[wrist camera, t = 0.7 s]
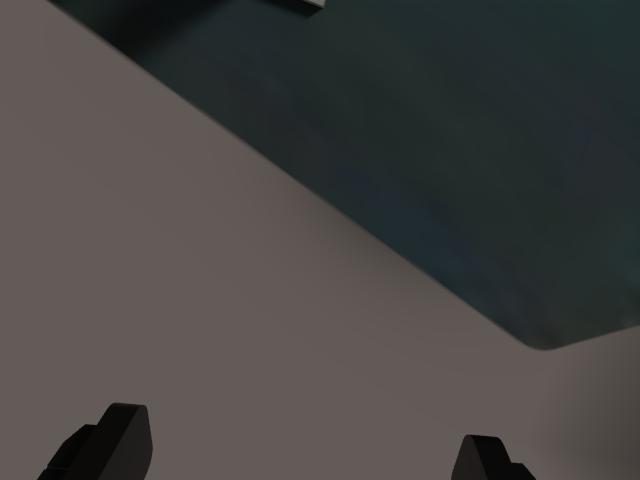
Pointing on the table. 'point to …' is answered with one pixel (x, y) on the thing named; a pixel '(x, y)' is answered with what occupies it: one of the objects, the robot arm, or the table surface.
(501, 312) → the table surface
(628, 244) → the table surface
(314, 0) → the board
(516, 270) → the table surface
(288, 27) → the table surface
